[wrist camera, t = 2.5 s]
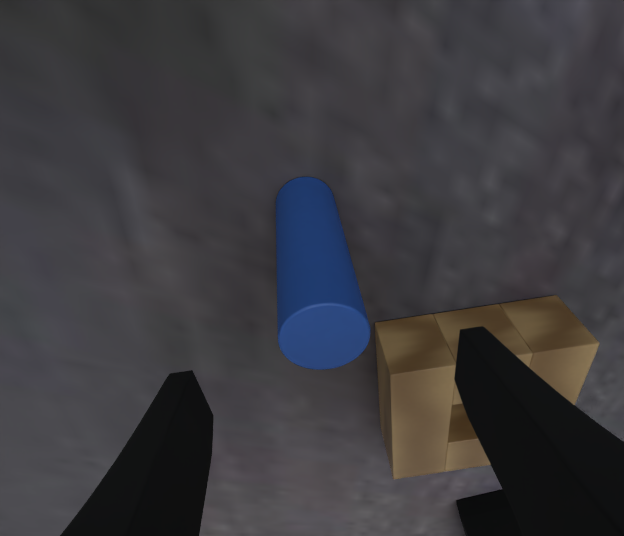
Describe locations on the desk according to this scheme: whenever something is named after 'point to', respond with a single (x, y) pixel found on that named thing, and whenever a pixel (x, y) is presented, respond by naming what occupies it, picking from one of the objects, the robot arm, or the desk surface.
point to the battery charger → (488, 515)
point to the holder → (441, 371)
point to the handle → (316, 280)
